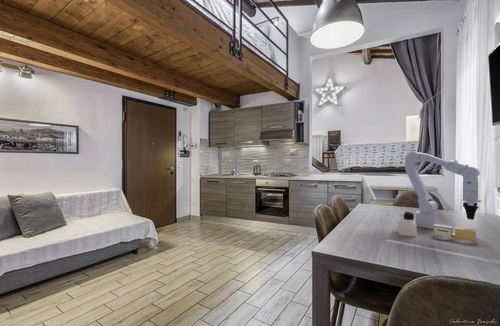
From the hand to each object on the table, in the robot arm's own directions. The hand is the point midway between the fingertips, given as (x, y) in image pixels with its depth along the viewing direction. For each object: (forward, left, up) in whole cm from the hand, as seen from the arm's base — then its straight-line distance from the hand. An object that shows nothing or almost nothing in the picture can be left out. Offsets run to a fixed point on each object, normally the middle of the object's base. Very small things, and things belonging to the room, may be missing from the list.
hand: (470, 218), depth 116 cm
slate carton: (-10, -14, -8) cm, 19 cm away
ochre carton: (-2, -14, -8) cm, 16 cm away
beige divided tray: (-6, -9, -9) cm, 14 cm away
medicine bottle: (-24, -19, -10) cm, 32 cm away
